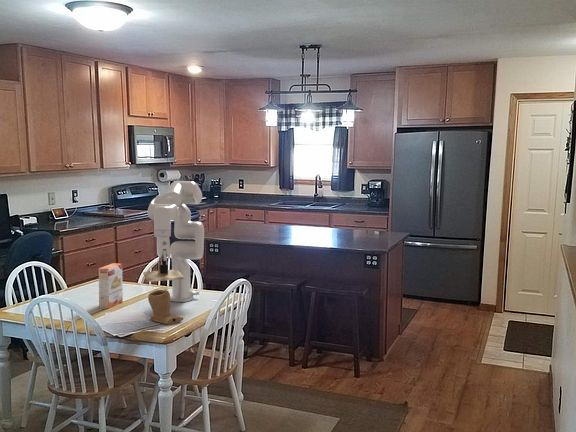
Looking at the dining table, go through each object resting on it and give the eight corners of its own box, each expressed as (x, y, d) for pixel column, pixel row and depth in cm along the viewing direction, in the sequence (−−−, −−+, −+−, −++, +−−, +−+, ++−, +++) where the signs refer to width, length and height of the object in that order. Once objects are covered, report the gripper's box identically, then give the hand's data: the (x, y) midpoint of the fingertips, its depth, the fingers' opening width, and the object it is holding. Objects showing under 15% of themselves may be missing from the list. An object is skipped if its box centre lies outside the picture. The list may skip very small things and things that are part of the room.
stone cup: (143, 321, 246) (142, 290, 244) (163, 316, 255) (163, 285, 253) (163, 329, 236) (163, 296, 235) (184, 322, 246) (184, 291, 244)
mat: (142, 310, 263) (142, 309, 263) (147, 321, 247) (147, 319, 247) (104, 314, 257) (104, 312, 256) (106, 325, 240) (106, 324, 240)
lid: (177, 271, 253) (177, 257, 253) (183, 279, 239) (183, 263, 238) (143, 273, 247) (142, 259, 247) (147, 281, 233) (147, 266, 232)
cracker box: (109, 309, 264) (108, 268, 261) (98, 308, 265) (97, 268, 262) (123, 302, 277) (122, 263, 275) (113, 301, 278) (112, 262, 276)
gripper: (174, 235, 234) (174, 275, 237) (167, 230, 250) (168, 267, 252) (156, 236, 232) (157, 276, 234) (151, 230, 247) (152, 269, 249)
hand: (163, 271), depth 243 cm, fingers closed on lid, 4 cm apart
